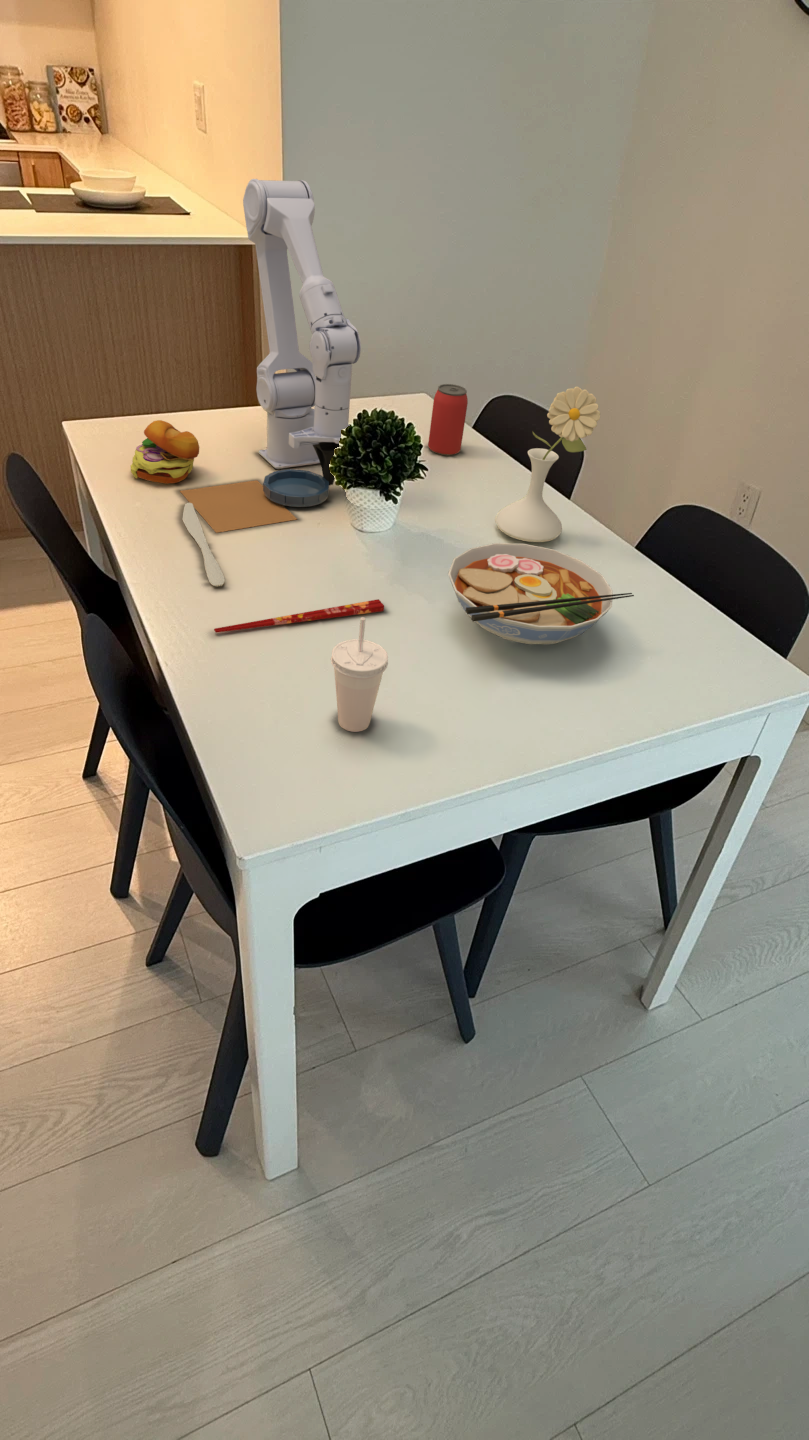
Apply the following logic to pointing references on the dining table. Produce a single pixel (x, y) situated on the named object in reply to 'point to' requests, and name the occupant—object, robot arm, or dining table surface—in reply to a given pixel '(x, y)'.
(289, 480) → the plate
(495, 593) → the ramen bowl
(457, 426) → the beer can
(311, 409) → the robot arm
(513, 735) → the dining table surface
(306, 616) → the chopstick
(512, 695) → the dining table surface
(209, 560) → the butter knife
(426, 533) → the dining table surface
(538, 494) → the flower in vase
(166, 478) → the cheeseburger
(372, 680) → the smoothie
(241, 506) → the placemat
